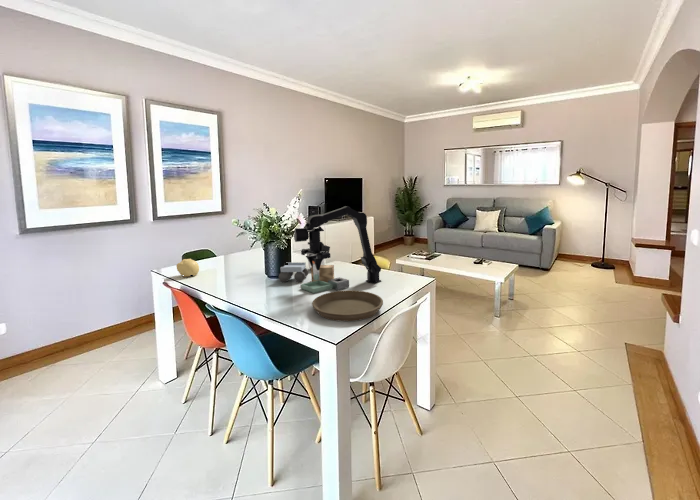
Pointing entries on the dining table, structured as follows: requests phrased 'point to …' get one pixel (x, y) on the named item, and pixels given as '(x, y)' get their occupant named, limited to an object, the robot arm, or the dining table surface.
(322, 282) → the tray
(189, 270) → the sculpture
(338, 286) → the holder
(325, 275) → the block
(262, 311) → the dining table surface
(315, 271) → the pin
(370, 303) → the plant saucer
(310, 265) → the spread jar
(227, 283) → the dining table surface
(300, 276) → the trolley
